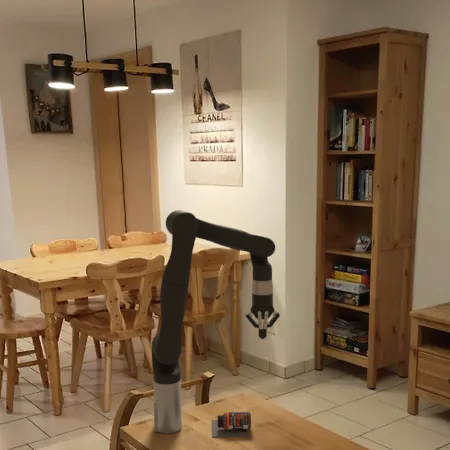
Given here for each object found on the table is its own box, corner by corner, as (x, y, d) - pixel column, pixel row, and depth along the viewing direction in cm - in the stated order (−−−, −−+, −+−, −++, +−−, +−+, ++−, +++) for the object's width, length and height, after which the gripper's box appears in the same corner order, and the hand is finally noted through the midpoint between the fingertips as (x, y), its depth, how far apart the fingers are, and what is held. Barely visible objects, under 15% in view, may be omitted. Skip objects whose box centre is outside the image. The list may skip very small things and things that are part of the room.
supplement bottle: (251, 425, 186) (217, 427, 186) (251, 432, 191) (217, 433, 191) (250, 408, 190) (217, 409, 190) (249, 415, 195) (217, 416, 194)
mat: (212, 437, 186) (212, 436, 186) (211, 421, 198) (211, 420, 198) (248, 436, 187) (248, 435, 187) (245, 420, 198) (245, 419, 198)
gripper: (244, 294, 198) (245, 342, 200) (282, 293, 198) (282, 341, 200) (243, 289, 205) (243, 335, 207) (279, 289, 206) (279, 334, 208)
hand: (262, 338), depth 204 cm, fingers closed
